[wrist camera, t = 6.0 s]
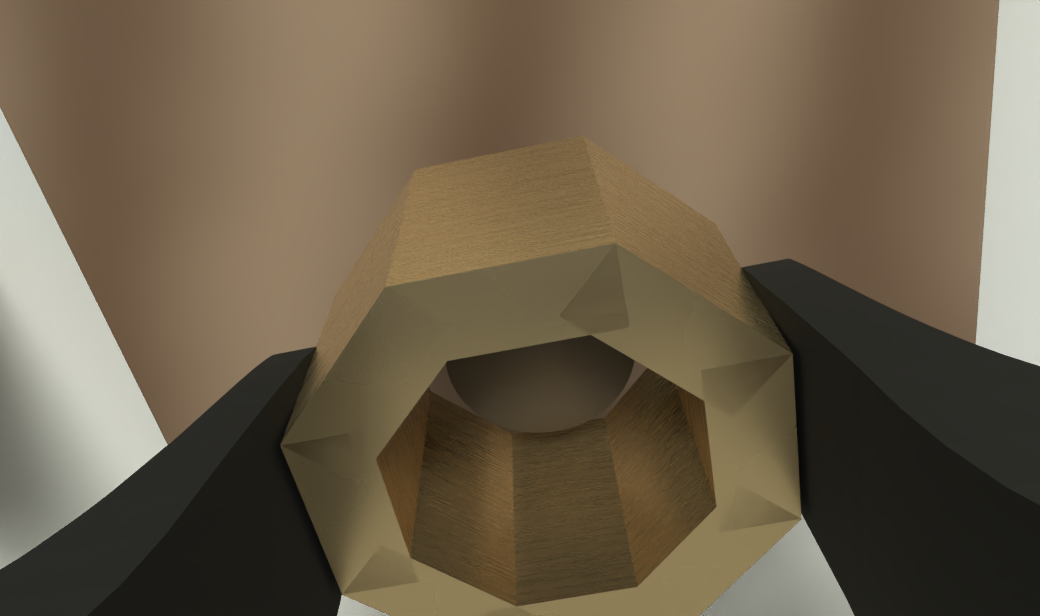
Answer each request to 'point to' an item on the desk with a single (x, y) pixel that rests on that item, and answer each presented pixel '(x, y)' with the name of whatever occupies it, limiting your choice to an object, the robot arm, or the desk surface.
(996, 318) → the desk surface
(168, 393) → the post board
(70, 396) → the desk surface
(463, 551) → the wooden ring
